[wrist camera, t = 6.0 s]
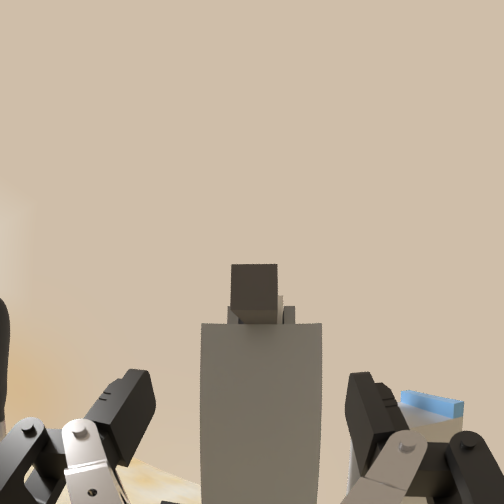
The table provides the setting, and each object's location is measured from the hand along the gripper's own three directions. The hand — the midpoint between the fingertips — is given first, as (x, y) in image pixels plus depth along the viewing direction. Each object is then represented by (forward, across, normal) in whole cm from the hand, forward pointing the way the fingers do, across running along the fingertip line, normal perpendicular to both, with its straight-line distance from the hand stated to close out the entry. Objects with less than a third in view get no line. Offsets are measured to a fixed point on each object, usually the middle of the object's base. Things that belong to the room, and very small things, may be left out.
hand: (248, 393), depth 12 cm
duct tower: (+4, 0, -35) cm, 35 cm away
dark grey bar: (+16, 0, -4) cm, 16 cm away
